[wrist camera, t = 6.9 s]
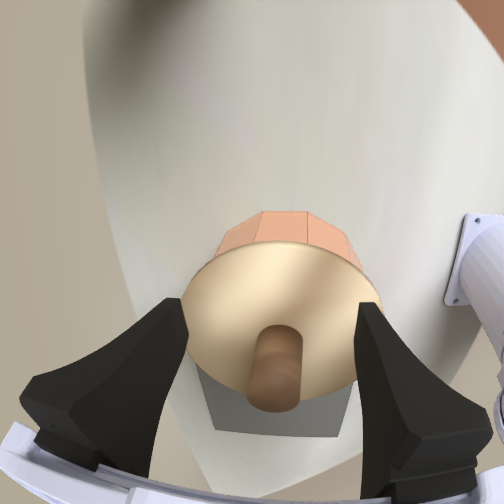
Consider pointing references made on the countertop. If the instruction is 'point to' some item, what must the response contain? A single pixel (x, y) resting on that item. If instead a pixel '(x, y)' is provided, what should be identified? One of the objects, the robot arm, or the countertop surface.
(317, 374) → the lid
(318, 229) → the bowl
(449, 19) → the countertop surface
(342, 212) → the countertop surface
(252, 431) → the mat
